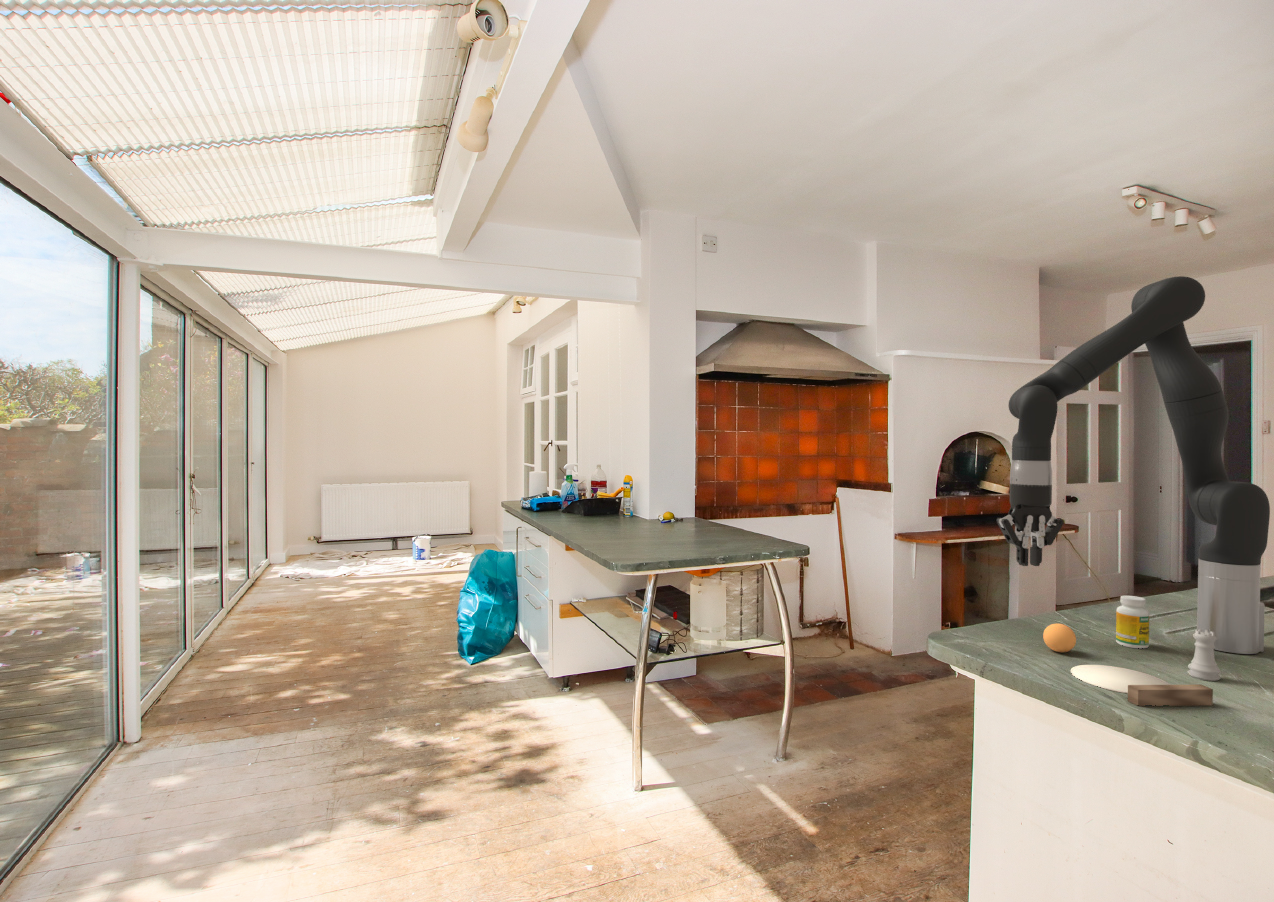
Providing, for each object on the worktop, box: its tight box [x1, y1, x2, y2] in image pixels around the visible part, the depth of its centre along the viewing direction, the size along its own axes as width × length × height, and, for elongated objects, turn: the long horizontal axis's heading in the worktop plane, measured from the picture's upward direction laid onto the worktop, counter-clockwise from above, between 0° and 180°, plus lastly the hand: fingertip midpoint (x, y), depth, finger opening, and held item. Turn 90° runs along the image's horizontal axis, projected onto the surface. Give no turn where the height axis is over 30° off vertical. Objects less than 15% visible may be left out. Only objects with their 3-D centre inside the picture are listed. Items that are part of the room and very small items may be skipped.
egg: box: [1042, 623, 1077, 653], centre depth 127 cm, size 5×5×5 cm
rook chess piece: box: [1187, 629, 1222, 682], centre depth 114 cm, size 4×4×8 cm
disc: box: [1070, 664, 1171, 694], centre depth 112 cm, size 14×14×1 cm
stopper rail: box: [1127, 684, 1214, 707], centre depth 102 cm, size 12×2×2 cm, turn 93°
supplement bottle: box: [1115, 595, 1150, 650], centre depth 132 cm, size 5×5×10 cm
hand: (1029, 565), depth 136 cm, fingers closed
